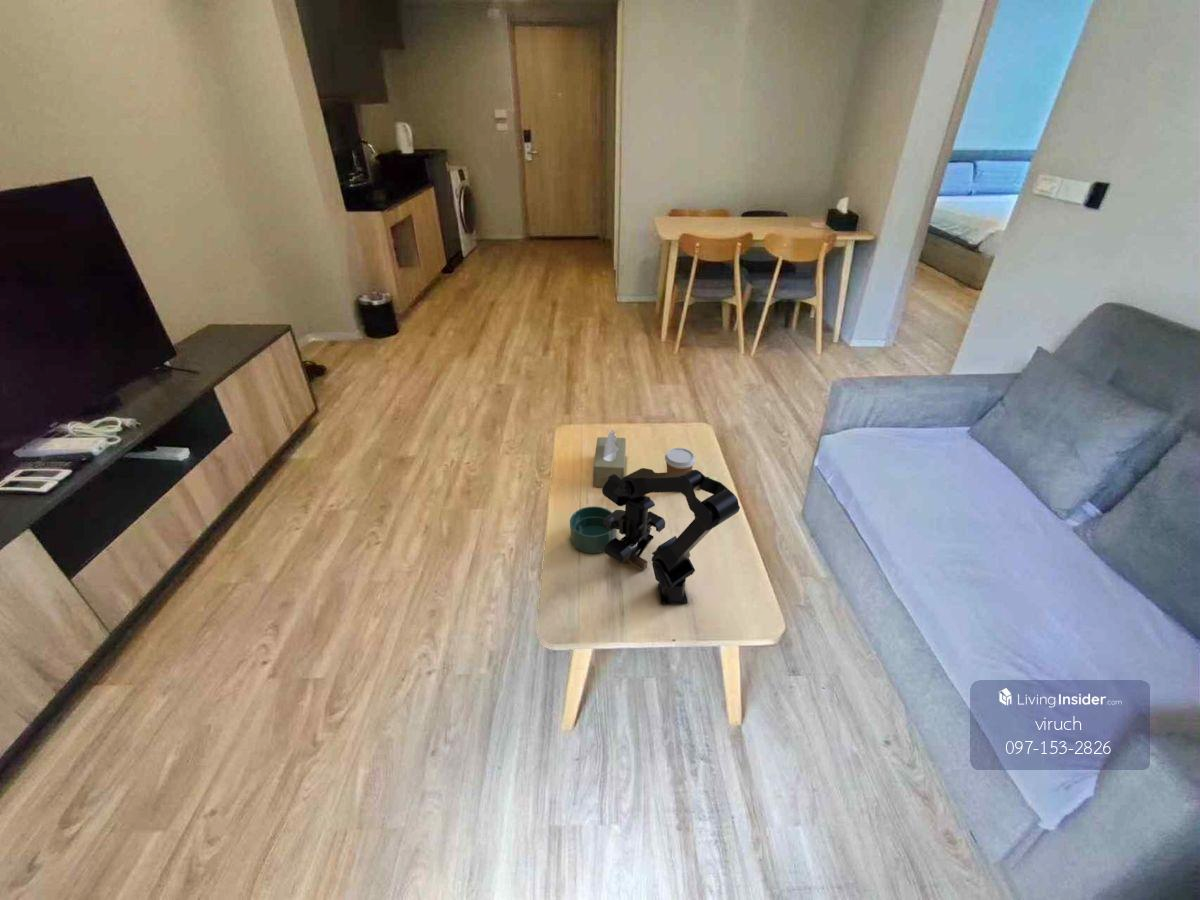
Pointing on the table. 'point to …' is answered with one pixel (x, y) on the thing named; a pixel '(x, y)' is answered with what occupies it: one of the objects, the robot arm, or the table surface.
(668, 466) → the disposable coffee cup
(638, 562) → the spoon
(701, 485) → the robot arm
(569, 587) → the table surface
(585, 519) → the bucket
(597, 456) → the tissue box
